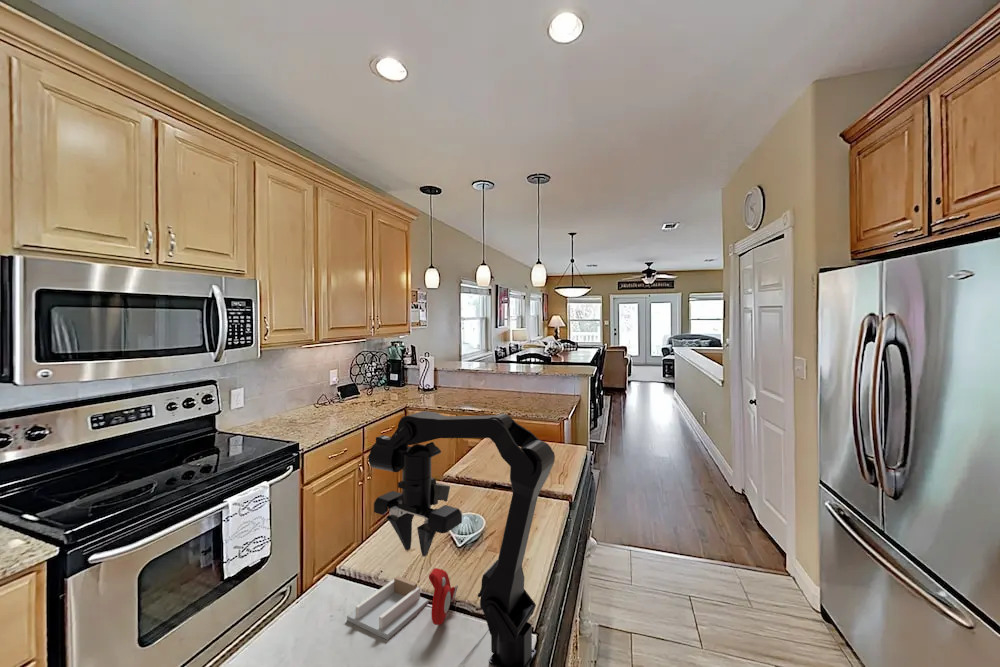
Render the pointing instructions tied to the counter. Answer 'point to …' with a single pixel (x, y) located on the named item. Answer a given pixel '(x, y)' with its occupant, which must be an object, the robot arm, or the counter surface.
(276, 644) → the counter surface
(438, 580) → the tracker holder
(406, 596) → the grey walled tray
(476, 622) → the counter surface
